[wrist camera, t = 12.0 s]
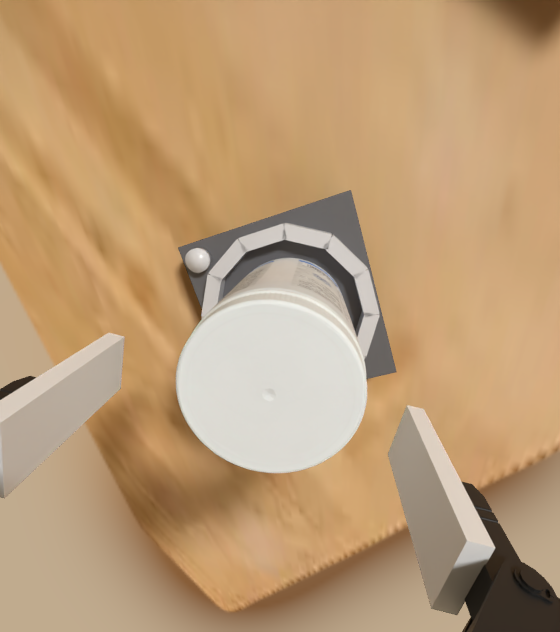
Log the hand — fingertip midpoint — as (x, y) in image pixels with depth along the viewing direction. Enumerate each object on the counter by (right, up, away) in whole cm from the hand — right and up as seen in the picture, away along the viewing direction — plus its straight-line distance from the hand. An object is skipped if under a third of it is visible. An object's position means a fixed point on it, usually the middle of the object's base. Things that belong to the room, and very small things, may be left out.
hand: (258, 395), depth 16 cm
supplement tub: (+2, +4, +15) cm, 15 cm away
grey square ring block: (+2, +5, +18) cm, 19 cm away
